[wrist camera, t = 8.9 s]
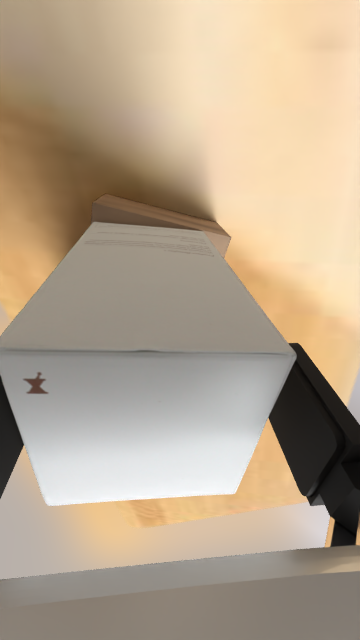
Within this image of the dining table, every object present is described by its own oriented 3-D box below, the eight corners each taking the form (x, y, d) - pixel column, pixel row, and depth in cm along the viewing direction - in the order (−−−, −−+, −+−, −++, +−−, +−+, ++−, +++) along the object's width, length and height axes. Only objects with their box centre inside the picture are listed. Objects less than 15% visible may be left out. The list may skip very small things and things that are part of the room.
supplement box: (97, 320, 20) (36, 512, 9) (91, 218, 16) (-27, 343, 5) (192, 324, 21) (237, 500, 10) (208, 229, 17) (308, 354, 6)
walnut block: (105, 193, 20) (92, 202, 16) (216, 222, 22) (231, 237, 17) (95, 296, 24) (83, 325, 20) (187, 313, 26) (194, 343, 22)
